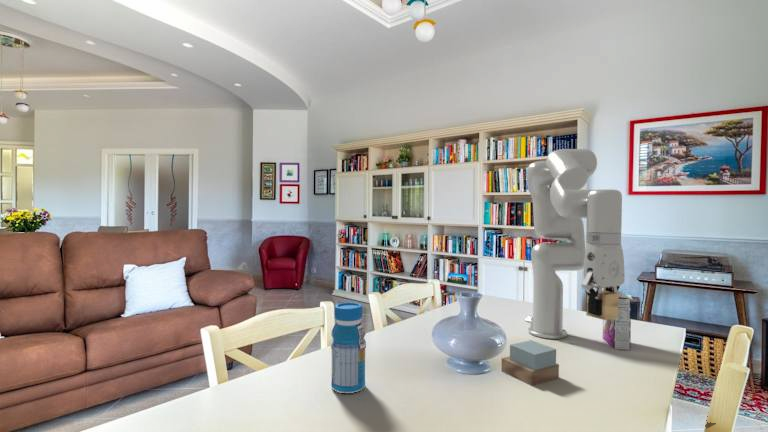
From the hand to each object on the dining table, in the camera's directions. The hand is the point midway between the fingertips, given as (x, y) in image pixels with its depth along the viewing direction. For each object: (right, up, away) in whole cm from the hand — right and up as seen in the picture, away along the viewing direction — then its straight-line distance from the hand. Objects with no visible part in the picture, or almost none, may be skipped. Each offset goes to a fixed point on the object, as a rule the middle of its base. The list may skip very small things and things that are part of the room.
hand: (602, 312), depth 100 cm
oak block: (0, -1, 0) cm, 1 cm away
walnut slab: (-16, -18, +6) cm, 25 cm away
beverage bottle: (-63, -18, -2) cm, 65 cm away
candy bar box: (+20, -18, +30) cm, 40 cm away
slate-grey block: (-15, -14, +5) cm, 22 cm away
